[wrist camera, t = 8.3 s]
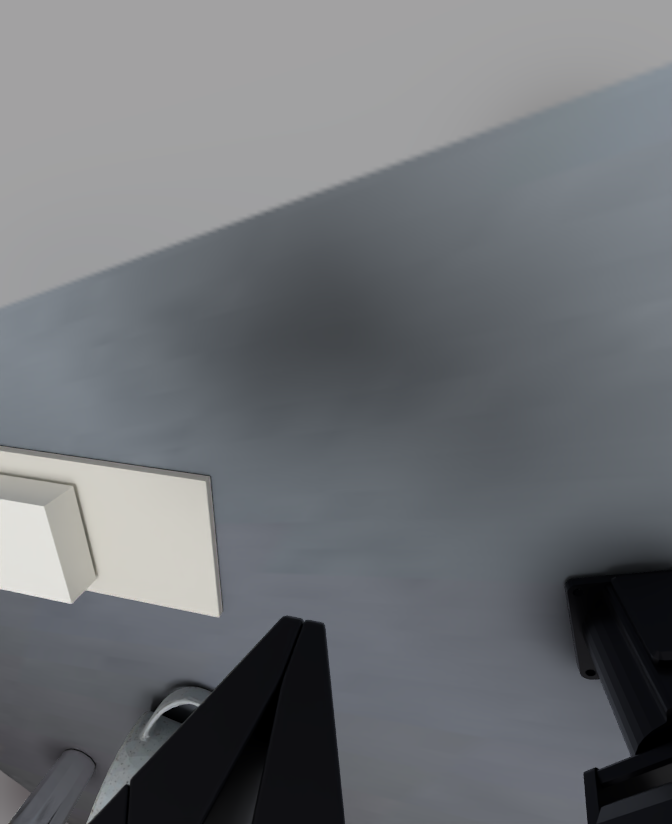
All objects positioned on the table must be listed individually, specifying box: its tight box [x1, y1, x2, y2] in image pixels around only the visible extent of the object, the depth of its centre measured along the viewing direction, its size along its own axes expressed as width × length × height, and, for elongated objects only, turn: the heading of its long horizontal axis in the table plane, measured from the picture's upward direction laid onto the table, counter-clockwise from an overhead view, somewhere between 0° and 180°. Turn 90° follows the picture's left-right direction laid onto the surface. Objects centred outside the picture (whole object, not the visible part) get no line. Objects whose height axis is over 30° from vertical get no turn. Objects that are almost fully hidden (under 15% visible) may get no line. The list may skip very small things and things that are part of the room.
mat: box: [0, 446, 223, 617], centre depth 26 cm, size 20×10×1 cm, turn 88°
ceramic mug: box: [87, 687, 211, 824], centre depth 28 cm, size 11×8×8 cm
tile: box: [0, 474, 96, 604], centre depth 25 cm, size 2×7×9 cm
